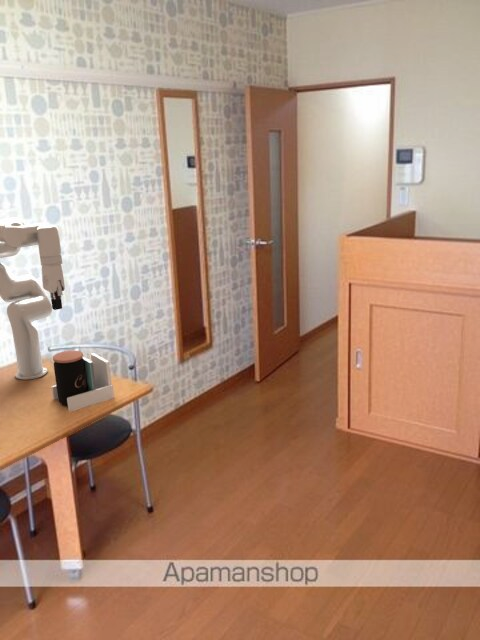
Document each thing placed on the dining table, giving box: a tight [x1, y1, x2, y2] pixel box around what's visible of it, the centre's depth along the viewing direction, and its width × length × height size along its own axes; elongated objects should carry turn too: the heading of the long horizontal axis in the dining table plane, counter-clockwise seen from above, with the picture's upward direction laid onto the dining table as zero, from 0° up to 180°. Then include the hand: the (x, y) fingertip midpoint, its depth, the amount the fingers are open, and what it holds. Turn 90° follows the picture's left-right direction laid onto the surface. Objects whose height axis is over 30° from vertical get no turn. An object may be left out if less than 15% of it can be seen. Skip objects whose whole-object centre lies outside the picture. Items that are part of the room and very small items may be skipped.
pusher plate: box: [82, 356, 96, 392], centre depth 221 cm, size 12×1×15 cm, turn 39°
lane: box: [51, 352, 115, 413], centre depth 220 cm, size 15×17×14 cm
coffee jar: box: [52, 350, 88, 408], centre depth 217 cm, size 11×11×18 cm
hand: (57, 308), depth 222 cm, fingers closed
